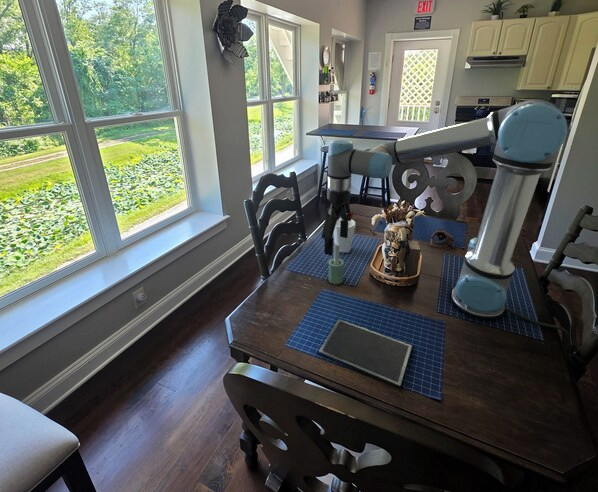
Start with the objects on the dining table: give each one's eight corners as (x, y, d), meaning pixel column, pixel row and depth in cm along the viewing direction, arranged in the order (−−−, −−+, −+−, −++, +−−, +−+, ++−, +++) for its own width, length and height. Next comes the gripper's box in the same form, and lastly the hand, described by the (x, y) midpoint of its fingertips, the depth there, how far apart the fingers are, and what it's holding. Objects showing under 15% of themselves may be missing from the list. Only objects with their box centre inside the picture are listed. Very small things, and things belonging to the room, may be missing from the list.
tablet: (411, 348, 89) (412, 344, 89) (400, 388, 78) (400, 385, 78) (338, 321, 99) (338, 318, 99) (318, 353, 88) (318, 350, 88)
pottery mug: (459, 253, 136) (454, 240, 131) (436, 259, 139) (431, 247, 135) (450, 233, 145) (445, 221, 141) (429, 240, 148) (424, 228, 144)
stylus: (338, 278, 119) (340, 243, 113) (337, 281, 117) (338, 245, 111) (334, 277, 120) (335, 242, 114) (332, 280, 118) (333, 244, 112)
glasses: (351, 217, 169) (351, 208, 167) (382, 223, 162) (383, 214, 160) (341, 228, 158) (342, 219, 156) (374, 235, 151) (375, 225, 149)
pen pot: (345, 278, 120) (346, 260, 116) (339, 286, 115) (340, 267, 112) (331, 274, 122) (332, 256, 119) (325, 282, 118) (326, 263, 115)
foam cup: (357, 247, 140) (358, 221, 135) (348, 257, 133) (349, 229, 128) (337, 242, 145) (338, 216, 140) (328, 251, 138) (328, 224, 133)
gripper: (342, 176, 116) (340, 228, 125) (311, 199, 96) (310, 259, 105) (362, 179, 113) (358, 232, 121) (334, 203, 93) (332, 265, 101)
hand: (336, 245), depth 113 cm, fingers open, 13 cm apart
